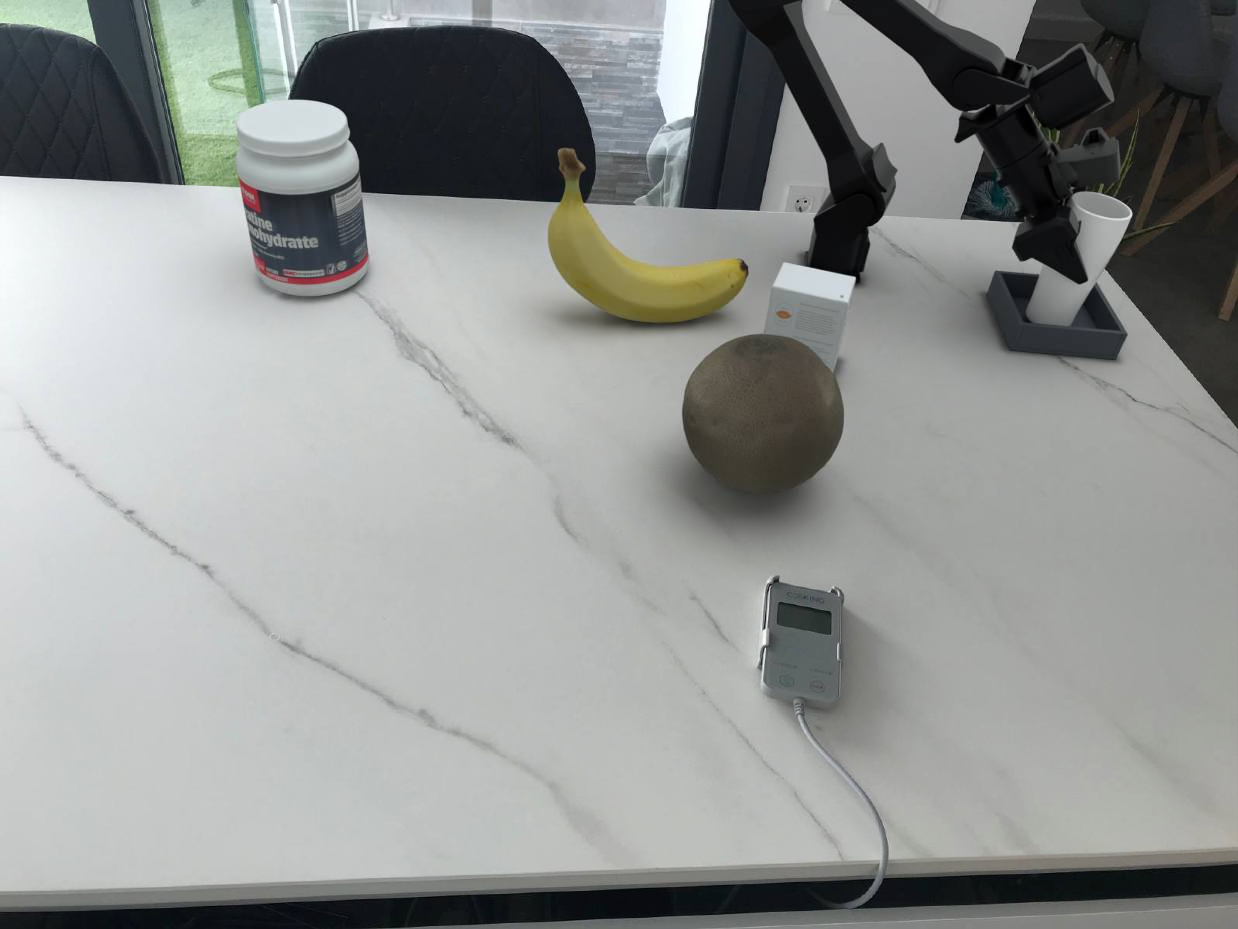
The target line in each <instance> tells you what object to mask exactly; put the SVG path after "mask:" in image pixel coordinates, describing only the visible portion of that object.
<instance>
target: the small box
mask: <svg viewBox="0 0 1238 929" xmlns="http://www.w3.org/2000/svg"><path fill="white" fill-rule="evenodd" d="M855 281H856V277H852V276H847V275H842V274H838V273H833V272H828V271H824V270H819V269H814V268H809V267H806V266H805V265H799V264H794V263H791V262H790V263H789V262H785V261H784V262H782V264H781V266H780V269H779V270H778V273H777V275H776V277H775V279H774V281H773V284H772V285H771V289H770V296H769V302H768V309H767V313H766V317H765V324H764V328H763V334H769V335H778V336H785V337H790V338H793V339H795V340H797V341H799V342H802V343H803V344H805V345H806V346H808V347H809V348H810V349H812V350H813V351H814V352H815V353H816V354H817V355H818V356H819V357H820V359H821V360H822V361H823V362H824V364H825V365H826V366H827V367H828V368H830V370H831V371H832V373H833V374H834V371H835V368H836V365H837V361H838V358H839V354H840V350H841V345H842V342H843V337H844V333H845V329H846V325H847V321H848V316H849V311H850V307H851V303H852V298H853V294H854V290H855V285H856V283H855Z"/></svg>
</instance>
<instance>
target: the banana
mask: <svg viewBox="0 0 1238 929" xmlns="http://www.w3.org/2000/svg"><path fill="white" fill-rule="evenodd" d="M557 157H558V162H559V166H558V170H559V171H560V172H561V174H562V175H563V177H564V182H565V186H564V187H565V188H564V191H563V195H562V198H561V200H560V202H559V204H558V205H557V207H556V208H555V210H554V211H553V213H552V215H551V217H550V220H549V223H548V227H547V245H548V250H549V251H548V252H549V255H550V257H551V260H552V263H553V264H554V267H555V268H556V270H557V271H558V274H559V275H560V277H562V279H563V280H564V282H565V283H566V284H568V286H569V287H570V288H571V289H573V290H574V291H575V292H576V294H578V295H579V296H580V297H582V298H584V300H586V301H587V302H589V303H590V304H592V305H593V306H595V307H596V308H599V309H600V310H602V311H604V312H606V313H608V314H610V315H613V316H614V317H618V318H621V319H625V320H628V321H633V322H642V323H657V324H659V323H660V324H663V323H681V322H686V321H690V320H695V319H698V318H703V317H704V316H709V315H711V314H713V313H715V312H718V311H719V310H720V309H723V308H724V307H725V306H726V305H728V304H729V303H730V302H732V301H733V300H734V299H735V298H736V297H737V296H738V295H739V294H740V292H741V291H742V289H743V288H744V286H745V283H746V281H747V279H748V277H749V274H750V272H749V266H748V264H747V263H746V261H744V259H742V258H726V259H718V260H710V261H705V262H700V263H696V264H689V265H681V266H661V265H653V264H648V263H645V262H641V261H637V260H636V259H633V258H631V257H629V256H627V255H626V254H624V253H623V252H622V251H620V250H619V249H618V248H616V247H615V246H614V245H613V244H612V243H611V241H610V240H608V239H607V237H606V236H605V234H604V233H603V232H602V230H601V228H600V227H599V225H598V224H597V222H596V221H595V219H594V217H593V216H592V214H591V212H590V211H589V209H588V208H587V207H586V205H585V203H584V201H583V197H582V194H581V190H580V189H581V188H580V177H581V173H582V172H584V171H586V166H585V165H584V163H582V161H580V160H579V159H578V156H577V153H576V150H575V149H574V148H568V147H562V148H559V149H558V150H557Z"/></svg>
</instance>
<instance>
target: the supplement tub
mask: <svg viewBox="0 0 1238 929" xmlns="http://www.w3.org/2000/svg"><path fill="white" fill-rule="evenodd" d="M235 127H236V139H237V141H238V143H239V144H240V146H239V147H238V150H237V152H236V154H235V155H236V156H235V170H236V173H237V178H238V183H239V188H240V193H241V200H242V204H243V209H244V215H245V219H246V226H247V230H248V235H249V241H250V243H251V250H252V256H253V261H254V266H255V267H254V269H255V271H256V273H257V275H258V277H259V278H260V279H261V281H262V282H263V283H264V284H265V285H267V286H268V287H270V288H271V289H273V290H275V291H277V292H279V293H283V294H287V295H291V296H298V297H319V296H327V295H331V294H336V293H339V292H342V291H345V290H346V289H348V288H351V287H352V286H354V285H356V283H358V282H359V281H360V280H361V279H363V277H364V276H365V275H366V273H367V271H368V269H369V265H370V255H369V247H368V246H369V245H368V236H367V228H366V221H365V220H366V219H365V210H364V201H363V192H362V182H361V173H360V160H359V156H358V153H357V150H356V148H355V146H354V145H353V143H352V142H351V141H350V140H349V138H350V136H351V130H350V128H349V124H348V118H347V116H346V114H345V113H344V112H343V111H342V110H341V109H339V108H338V107H336V106H334V105H332V104H329V103H325V102H321V101H316V100H309V99H284V100H274V101H269V102H264V103H260V104H257V105H254V106H252V107H250V108H248V109H246V110H244V111H243V112H241V113H240V114H239V116H237V118H236V121H235Z"/></svg>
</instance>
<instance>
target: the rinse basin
mask: <svg viewBox="0 0 1238 929" xmlns="http://www.w3.org/2000/svg"><path fill="white" fill-rule="evenodd" d="M1039 275H1040V273H1029V272H1017V271H1005V270H994V272H993V275H992V278H991V281H990V283H989V286H988V289H987V292H986V298H987V300H988V303H989V306H990V307H991V310H992V312H993V314H994V317H995V319H996V321H997V324H998V327H999V329H1000V332H1001V333H1002V336H1003V338H1004V340H1005V343H1006V345H1007V347H1008V350H1009V351H1015V352H1026V353H1038V354H1049V355H1058V356H1059V355H1060V356H1071V357H1080V358H1081V357H1082V358H1091V359H1092V358H1093V359H1094V358H1095V359H1103V360H1114V361H1116V360H1117V358H1118V356H1119V354H1120V352H1121V350H1122V348H1123V345H1124V344H1125V342H1126V339H1127V338H1128V334H1129V333H1128V332H1127V330H1126V328H1125V327H1124V325H1123V323H1122V321H1120V318H1119V317H1118V315H1117V313H1116V311H1115V310H1114V309H1113V307H1112V305H1111V304H1110V302H1109V300H1108V298H1107V297H1106V295H1105V293H1104V291H1103V290H1102V289H1101V287H1100V285H1099V284H1098V281H1096V283H1095V285H1094V286H1093V288H1092V290H1091V291H1090V293H1089V295H1088V296H1087V298H1086V299H1085V301H1084V303H1083V304H1082V306H1081V308H1080V309H1079V311H1078V313H1077V315H1076V317H1075V319H1074V321H1073V323H1072V324H1071V326H1059V325H1048V324H1037V323H1031V322H1030V321H1029V320H1028V318H1027V317H1026V308H1027V306H1028V304H1029V302H1030V299H1031V297H1032V294H1033V292H1034V289H1035V286H1036V283H1037V280H1038V277H1039Z"/></svg>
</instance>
